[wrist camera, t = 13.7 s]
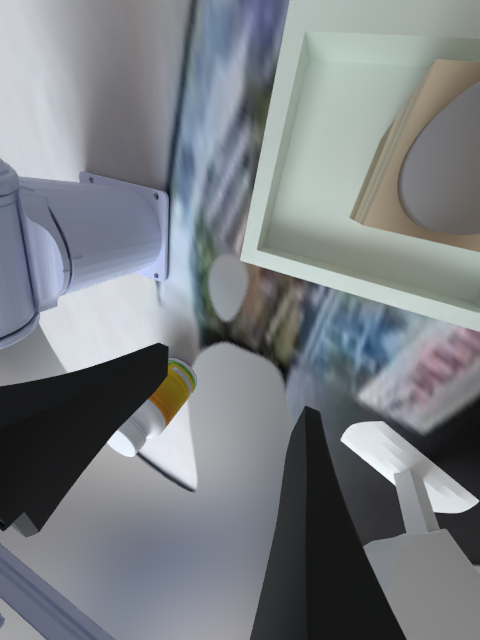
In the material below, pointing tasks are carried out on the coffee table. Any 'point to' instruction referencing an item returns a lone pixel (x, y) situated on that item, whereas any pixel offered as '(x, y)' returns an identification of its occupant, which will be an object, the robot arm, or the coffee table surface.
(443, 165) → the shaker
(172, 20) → the coffee table surface
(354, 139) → the tray
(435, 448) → the coffee table surface
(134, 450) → the supplement bottle
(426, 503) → the heart sculpture
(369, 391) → the coffee table surface
